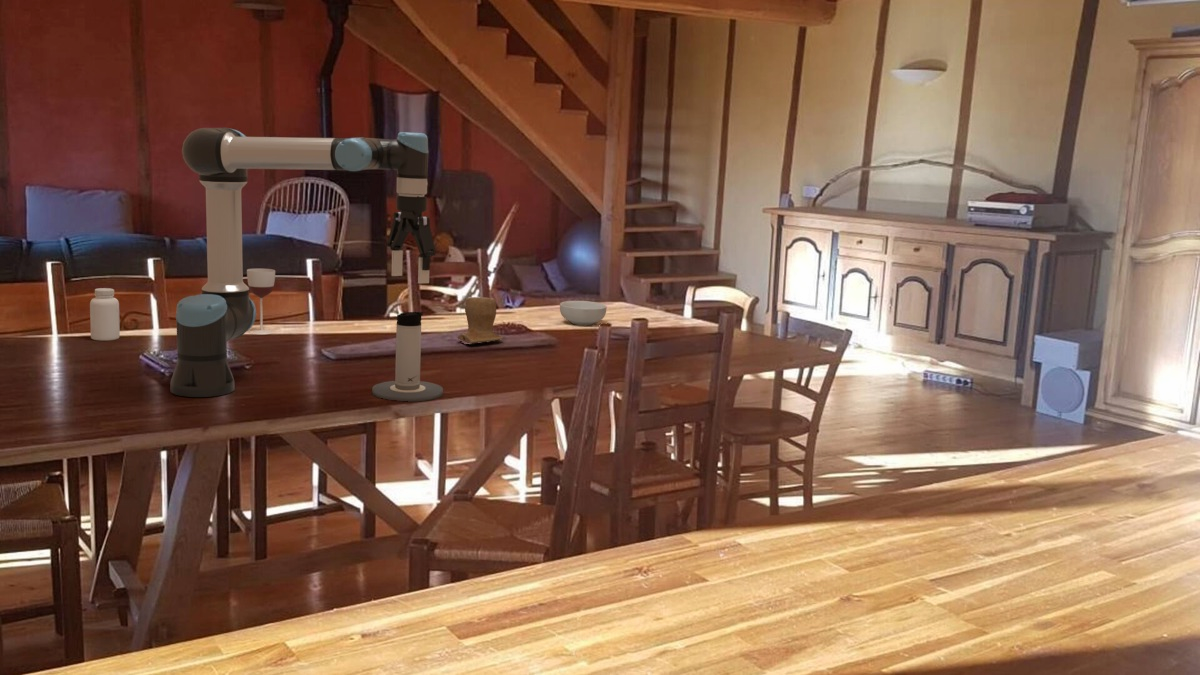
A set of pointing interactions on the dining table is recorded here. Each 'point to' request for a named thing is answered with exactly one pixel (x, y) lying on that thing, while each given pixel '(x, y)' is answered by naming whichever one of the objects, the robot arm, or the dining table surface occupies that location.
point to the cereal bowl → (582, 312)
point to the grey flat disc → (407, 392)
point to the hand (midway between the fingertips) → (409, 279)
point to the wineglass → (261, 290)
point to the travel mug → (408, 351)
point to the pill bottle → (104, 315)
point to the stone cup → (480, 320)
